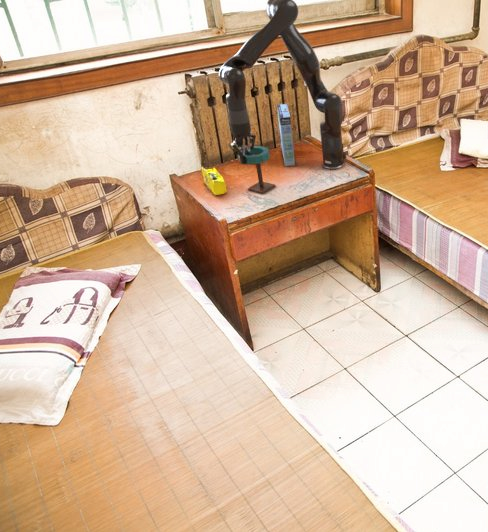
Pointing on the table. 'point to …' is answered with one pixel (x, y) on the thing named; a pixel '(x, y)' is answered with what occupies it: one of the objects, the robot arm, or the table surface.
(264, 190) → the brown peg stand
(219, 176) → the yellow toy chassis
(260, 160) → the teal ring
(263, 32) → the robot arm
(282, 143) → the gum box
